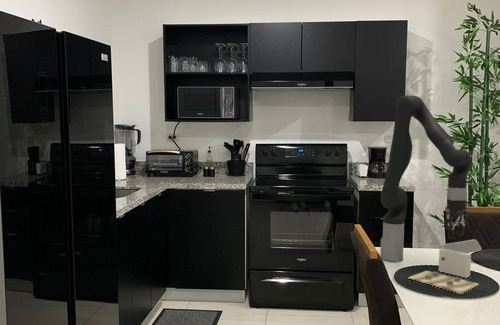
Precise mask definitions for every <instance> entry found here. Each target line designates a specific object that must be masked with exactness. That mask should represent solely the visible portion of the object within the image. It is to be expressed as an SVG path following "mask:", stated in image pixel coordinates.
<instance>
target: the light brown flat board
mask: <svg viewBox="0 0 500 325" xmlns="http://www.w3.org/2000/svg"><path fill="white" fill-rule="evenodd" d="M408 279H412V280H416V281H419V282H422V283H426V284H429V285H432V286H431V287H433V286H436V287H435V288H437V287H439V288H438V289H440V288H443V289H442V290H444V289H446V290H445V291H448V290H449V291H448V292H451V291H453V292H452V293H455V292H456V294H458V295H459V294H460V295H462V294H465V293H467V292H469V291H471V290H473V289H472V288H474V287H476V286H478V285H479V284H480V283H478V282H473V281H469V280H466V279H462V278H458V277H454V276H450V275H446V274H442V273H439V272H437V271H429V270H424V271H422V272H419V273H416V274H414V275H410V276H408V277H407V280H408ZM422 283H421V284H422ZM426 284H425V285H426ZM429 285H428V286H429ZM478 287H479V286H478ZM476 288H477V287H476ZM470 289H471V290H470ZM474 289H475V288H474ZM468 290H469V291H468ZM466 291H467V292H466ZM464 292H465V293H464Z"/></svg>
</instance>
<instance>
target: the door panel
mask: <svg viewBox="0 0 500 325" xmlns="http://www.w3.org/2000/svg"><path fill="white" fill-rule="evenodd" d="M438 252H439V253H438V272H439V271H440V272H445V273H449V274H453V275H457V276H461V277H465V278H467V277H469V276H470V277H471V261H472V253H463V252H458V251H453V250H449V249H445V248H444V247H443V248H440V249H439V251H438Z"/></svg>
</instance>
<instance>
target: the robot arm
mask: <svg viewBox="0 0 500 325" xmlns="http://www.w3.org/2000/svg"><path fill="white" fill-rule="evenodd" d="M394 113H395V114H394V128H393V134H392V139H391V145H390V150H389V155H388V164H387V167H386V168H387V169H386V173H385V174H386V175H385V178H384V181H383V186H382V189H381V192H380V193H381V194H380V203H381V205H382V207H384V208H385V209H388V210H387V212H386V213H385V214H384V215H383V216H382V217H383V220H382V222H383V223H382V227H383V228H382V237H381V238H380V255H379V256H380V257H381V258H380V259H382V260H383V261H387V262H390V263H391V262H392V263H398V262H399V263H400V262H403V260H404V243H405V242H404V238H405V219H406V217H407V210H408V209H407V208H408V195H407V192H406V191H405V189H404V188H402V187H400V182H401V180H402V177H403V175H404V173H405V172H406V170H407V169H408V167H409V165H410V162H411V158H412V153H413V140H412V136H411V133H410V125H411V119H412V117H413V118H415V119H416V121H418V122H419V123H420V125H421V126H422V127H423V129H424V132H425V135H426V137H427V138H428V139H429V141H430V142H431V143H432V145H434V146H435V148H436V149H437V150H438V151H439V153H440V155H441V157H442V158H443V161H444V162H445V163H446V164H447V165H448V166H450V167H453V169H452V171H451V172H450V173H449V174H448V176H447V177H448V179H447V180H448V181H447V191H446V209H447V210H448V211H449V213H445V214H444V215H445V217H444V229H446V230H447V239H448V240H453V239H454V236H455V235H454V234H455V233H454V232H455V230H454V229H455V227H456V226H457V236H460V237H463V236H464V235H465V226H467V225H468V210H467V205H468V204H467V202H468V201H467V200H468V199H467V198H468V192H467V191H468V190H467V188H468V187H467V184H468V182H467V179H468V174H469V170H470V166H471V161H472V160H471V155H470V152H468V150H466V149H457V148H456V147H455V145H454V144H455V142H454V138H452V137H451V136H450V134H448V132H446V130H445V129H444V128H443V127H442V126H441V125H440V123H439V122H438V121H437V120H436V119H435V117H434V116H433V114H432V113H431V111H430V110H429V108H428V107H427V105H426V104H425V102H424V100H423V99H422V98H421V97H419V96H417V95H411V94H410V95H408V94H406V95H401V96H400V97H398V99H397V101H396V105H395V112H394Z"/></svg>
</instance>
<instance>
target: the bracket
mask: <svg viewBox="0 0 500 325" xmlns="http://www.w3.org/2000/svg"><path fill="white" fill-rule="evenodd" d="M443 248H444V249H449V250H453V251H458V252H463V253H468V254H472V253H475V252H479V251H482V249H483V248H482V246H481V244H480V243H479V241H478V240H477V239H474V238H472V239H467V240H461V241H455V242H449V243H444V244H443Z"/></svg>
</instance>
